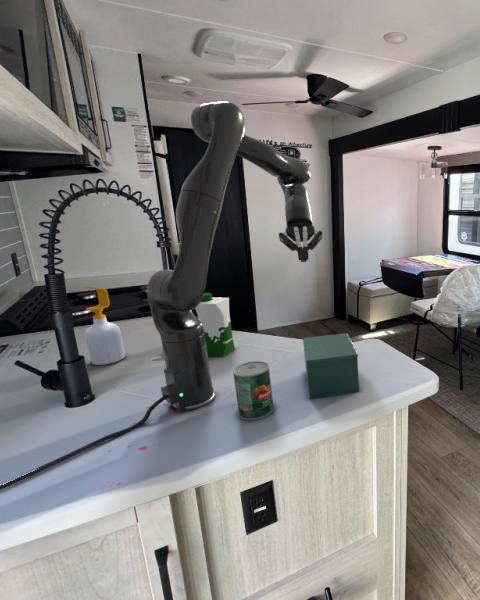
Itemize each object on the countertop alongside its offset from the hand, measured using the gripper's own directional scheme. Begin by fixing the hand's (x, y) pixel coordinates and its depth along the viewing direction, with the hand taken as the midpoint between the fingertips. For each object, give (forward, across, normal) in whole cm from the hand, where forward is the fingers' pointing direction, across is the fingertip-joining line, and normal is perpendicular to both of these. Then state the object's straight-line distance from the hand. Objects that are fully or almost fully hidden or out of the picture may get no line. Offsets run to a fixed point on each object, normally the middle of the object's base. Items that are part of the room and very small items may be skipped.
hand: (303, 260), depth 107 cm
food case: (+31, +4, +14) cm, 34 cm away
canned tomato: (+38, -15, +7) cm, 42 cm away
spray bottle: (+4, -64, +41) cm, 76 cm away
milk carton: (+8, -29, +37) cm, 48 cm away
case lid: (+24, +4, +7) cm, 26 cm away
